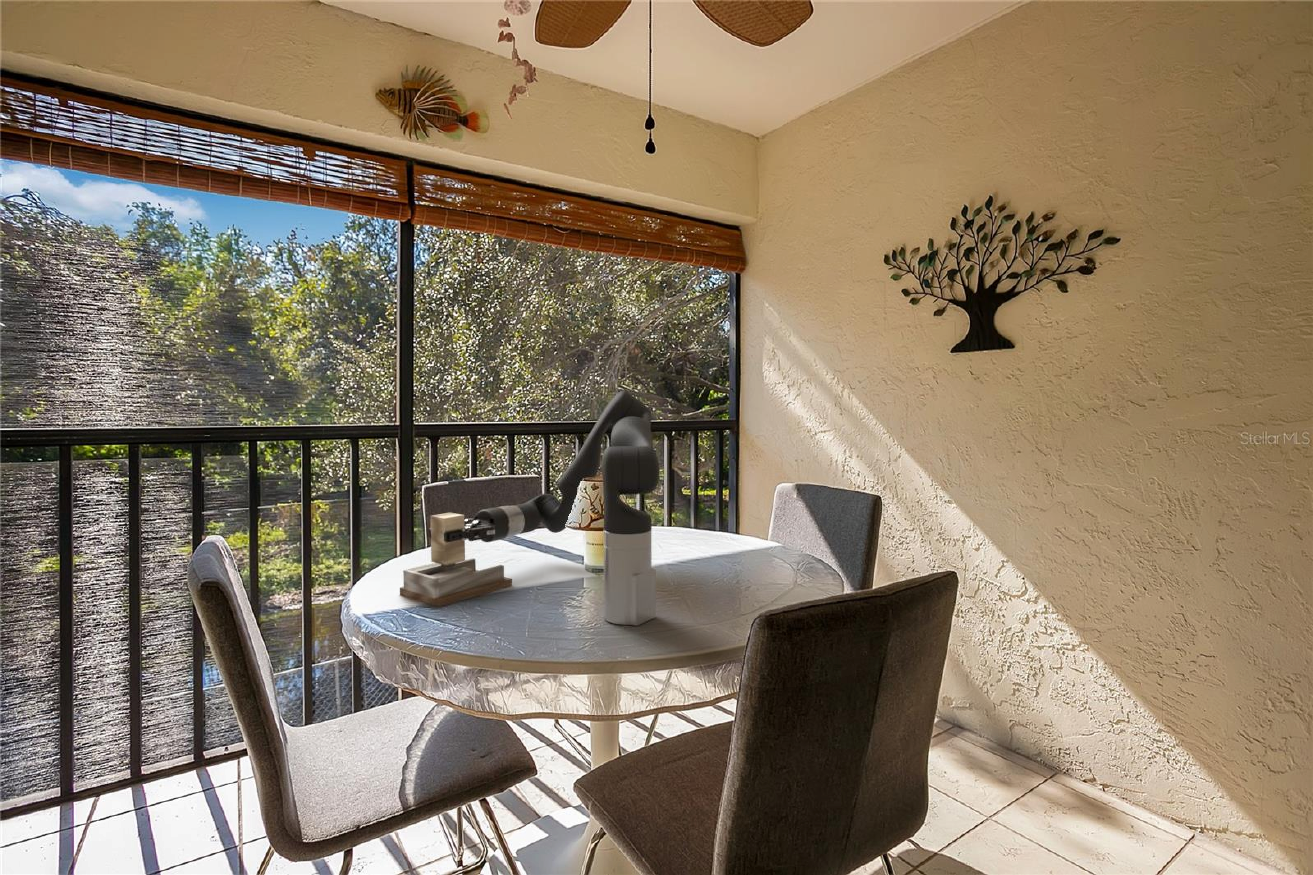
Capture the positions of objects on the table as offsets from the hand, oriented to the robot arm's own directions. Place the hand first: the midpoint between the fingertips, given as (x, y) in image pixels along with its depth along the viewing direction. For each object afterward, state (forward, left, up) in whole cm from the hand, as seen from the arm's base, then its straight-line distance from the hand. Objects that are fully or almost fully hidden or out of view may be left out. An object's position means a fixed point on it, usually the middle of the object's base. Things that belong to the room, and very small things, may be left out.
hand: (437, 535), depth 142 cm
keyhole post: (0, -3, -11) cm, 11 cm away
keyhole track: (0, -5, -13) cm, 14 cm away
